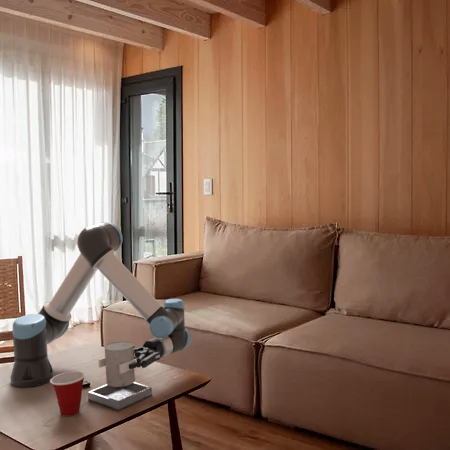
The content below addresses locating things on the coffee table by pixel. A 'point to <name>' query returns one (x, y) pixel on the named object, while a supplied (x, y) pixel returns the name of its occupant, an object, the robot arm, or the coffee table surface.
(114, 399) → the grey square tray
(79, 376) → the plastic cup
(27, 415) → the coffee table surface
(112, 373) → the speckled white cylinder
